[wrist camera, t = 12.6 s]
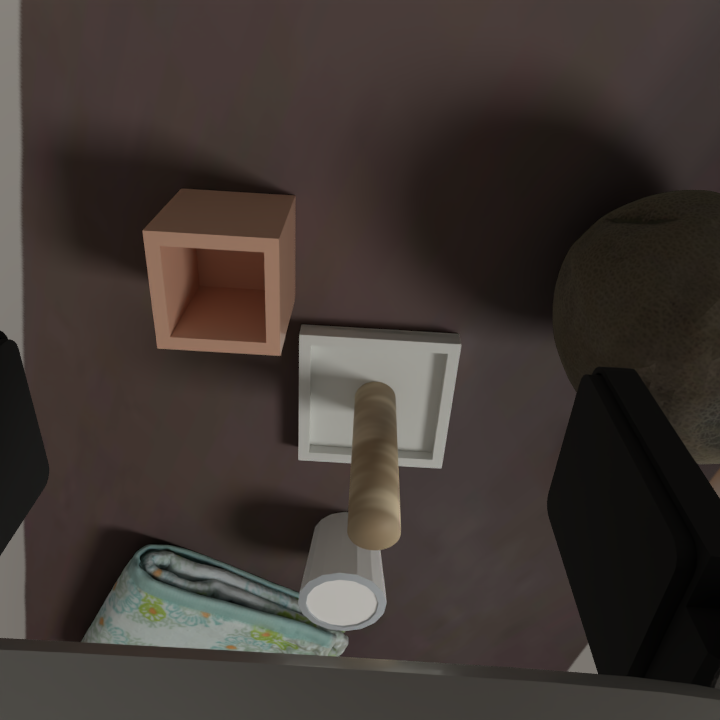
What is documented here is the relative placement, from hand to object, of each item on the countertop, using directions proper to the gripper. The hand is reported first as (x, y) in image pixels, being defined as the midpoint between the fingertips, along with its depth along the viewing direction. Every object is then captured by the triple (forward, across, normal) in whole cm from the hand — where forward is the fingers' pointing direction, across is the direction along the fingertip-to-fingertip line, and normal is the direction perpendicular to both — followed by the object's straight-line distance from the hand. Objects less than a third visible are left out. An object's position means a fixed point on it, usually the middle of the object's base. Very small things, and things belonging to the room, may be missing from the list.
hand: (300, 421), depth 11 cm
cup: (+30, +7, +9) cm, 32 cm away
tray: (+30, -2, +20) cm, 36 cm away
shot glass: (+31, -1, +35) cm, 46 cm away
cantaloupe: (+31, -19, +9) cm, 37 cm away
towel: (+31, +11, +48) cm, 59 cm away
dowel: (+30, -2, +20) cm, 36 cm away
